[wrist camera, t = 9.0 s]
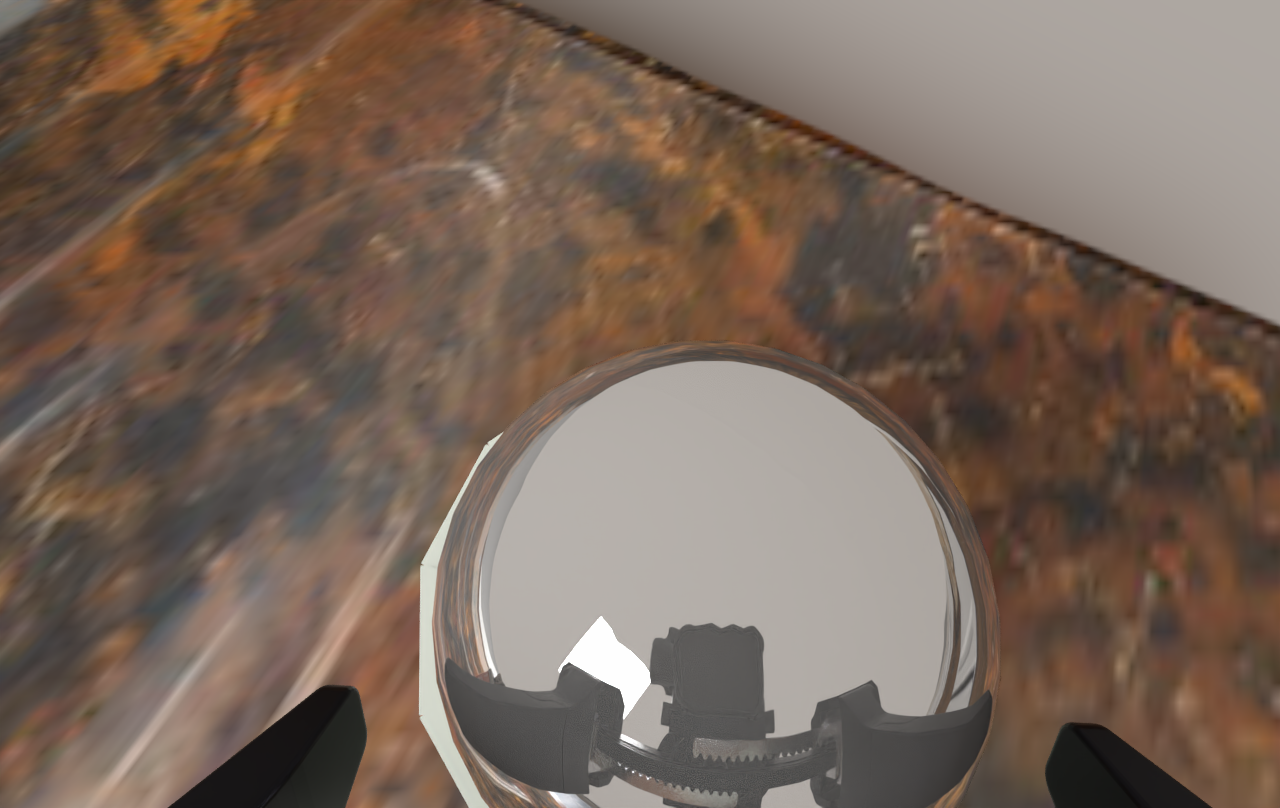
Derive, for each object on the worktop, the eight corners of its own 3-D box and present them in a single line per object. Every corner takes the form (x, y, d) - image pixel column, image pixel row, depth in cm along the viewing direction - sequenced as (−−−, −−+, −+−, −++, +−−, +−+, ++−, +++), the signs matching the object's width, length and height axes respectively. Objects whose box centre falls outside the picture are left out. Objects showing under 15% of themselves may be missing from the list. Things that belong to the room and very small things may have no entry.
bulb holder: (817, 968, 15) (874, 1080, 11) (380, 737, 16) (300, 765, 13) (943, 503, 18) (1018, 467, 15) (576, 357, 20) (559, 292, 16)
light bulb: (658, 439, 18) (665, 108, 7) (868, 600, 16) (1326, 507, 5) (490, 641, 16) (127, 637, 5) (707, 844, 15) (878, 1501, 3)
